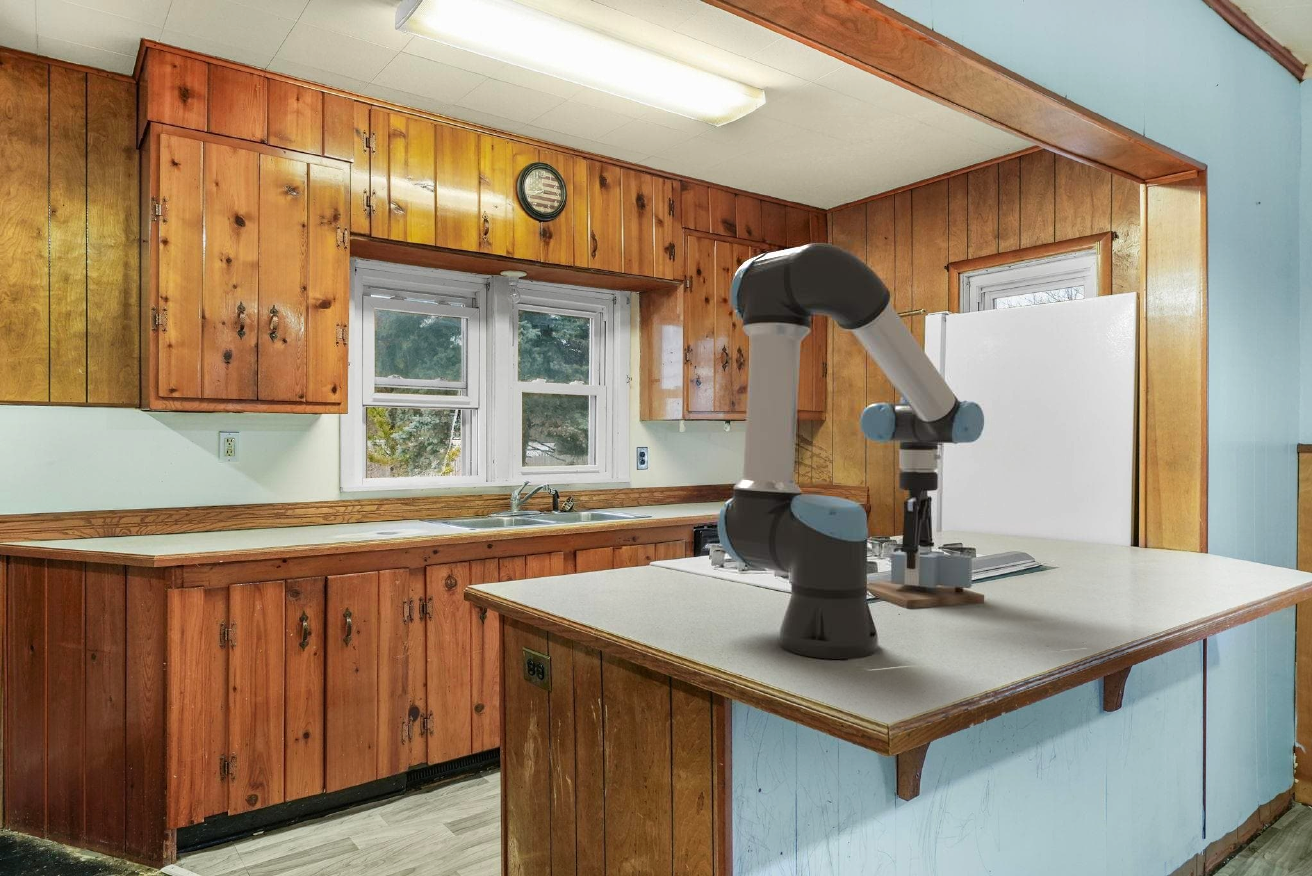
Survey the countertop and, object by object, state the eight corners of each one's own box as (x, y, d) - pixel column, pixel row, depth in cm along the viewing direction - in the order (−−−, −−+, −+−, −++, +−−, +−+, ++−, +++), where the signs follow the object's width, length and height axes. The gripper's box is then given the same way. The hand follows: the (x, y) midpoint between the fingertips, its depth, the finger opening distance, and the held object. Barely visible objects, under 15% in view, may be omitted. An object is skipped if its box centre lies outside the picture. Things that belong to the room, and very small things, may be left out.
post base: (906, 608, 154) (907, 561, 154) (855, 590, 171) (855, 547, 171) (984, 602, 159) (984, 556, 159) (926, 585, 176) (927, 544, 176)
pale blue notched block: (891, 583, 164) (891, 553, 164) (902, 577, 171) (902, 548, 171) (966, 590, 156) (966, 559, 156) (974, 583, 163) (974, 554, 163)
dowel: (958, 592, 162) (958, 562, 162) (953, 590, 163) (953, 561, 163) (965, 591, 162) (965, 562, 162) (959, 590, 164) (960, 560, 164)
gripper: (925, 473, 154) (924, 591, 154) (948, 469, 172) (947, 575, 172) (886, 472, 158) (884, 587, 158) (912, 468, 176) (911, 571, 176)
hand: (917, 581), depth 165 cm, fingers closed on pale blue notched block, 8 cm apart
